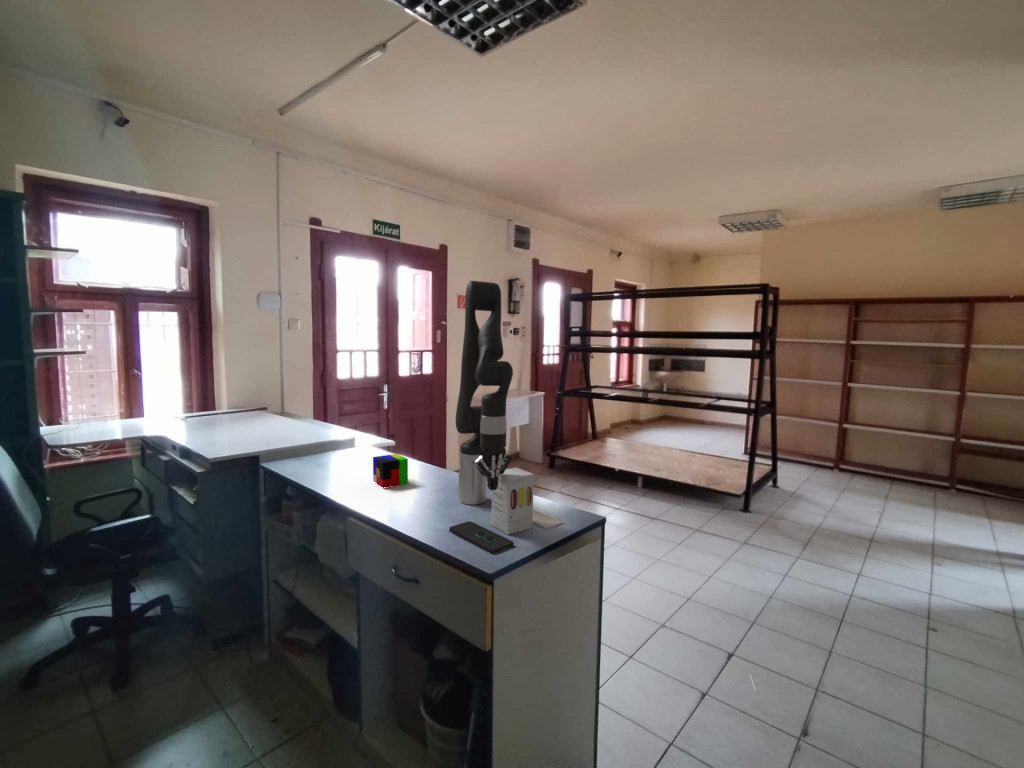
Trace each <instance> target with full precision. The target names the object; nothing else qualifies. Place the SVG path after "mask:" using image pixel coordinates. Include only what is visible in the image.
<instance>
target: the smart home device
mask: <svg viewBox="0 0 1024 768" xmlns="http://www.w3.org/2000/svg"><path fill="white" fill-rule="evenodd" d="M448 529H449V533H451V532H452V533H451V534H453V535H454V536H456V535H457V537H458V536H459V538H460V537H461V539H462V538H463V539H462V540H463V541H466V542H468V543H470V544H471V543H472V544H471V545H473V546H475V547H477V548H479V549H481V550H482V551H485V552H486V553H488V552H489V553H488V554H490V553H491V555H494V554H497V553H500V552H503V551H505V550H507V549H509V548H510V549H511V548H513V547H514V541H513V540H510V539H509V538H506V537H505V536H502V535H501V534H499V533H497V532H495V531H492V530H490V529H488V528H486V527H484V526H482V525H480V524H477V523H475V522H474V521H469V520H468V521H464V522H461V523H459V524H455V525H452V526H449V528H448Z"/></svg>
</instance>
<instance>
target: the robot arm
mask: <svg viewBox="0 0 1024 768" xmlns="http://www.w3.org/2000/svg"><path fill="white" fill-rule="evenodd" d="M464 304H465V305H464V306H465V308H464V309H465V310H464V311H465V312H464V313H465V314H464V333H463V334H464V335H463V343H462V344H463V345H462V352H461V353H462V354H461V365H460V366H461V367H460V368H461V369H460V384H459V392H458V393H459V394H458V398H457V404H456V412H455V428H456V430H457V432H458V433H459V434H461V435H462V434H463V435H466V434H468V435H469V434H473V435H472V437H470V438H469V439H468V440H466V441H463V442H462V443H461V444H460V446H459V452H460V453H459V455H460V456H459V458H460V459H459V461H460V462H459V472H458V499H459V501H460V503H462V504H465V505H481V504H484V503H486V501H487V488H488V490H490V491H492V490H497V487H498V477H499V475H500V474H503V473H504V472H505V470H506V469H508V466H509V465H510V463H511V461H512V459H513V456H512V455H510V454H508V453H507V450H506V447H507V427H508V426H507V425H508V424H507V399H508V398H507V397H508V395H509V394H508V392H509V389H510V387H511V382H512V380H513V376H514V370H513V366H512V364H511V362H509V361H505V360H504V361H503V360H501V359H502V358H503V356H504V346H503V339H502V290H501V286H500V285H499V284H497V283H495V282H490V281H479V280H469V282H467V284H466V288H465V303H464ZM476 311H479V312H480V311H481V312H482V311H483V312H490V315H489V316H488V318H487V320H485V322H484V324H483V325H482V326H481V328H480V326H479V324H478V321H477V316H476ZM479 386H484V387H492V386H493V387H495V386H496V387H498V389H496V391H495V392H492V393H486V394H484V395H482V396H481V397H482V398H481V405H475V406H473V405H472V400H473V398H474V396H475V393H476V391H477V390H478V388H479Z"/></svg>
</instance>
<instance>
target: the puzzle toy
mask: <svg viewBox="0 0 1024 768" xmlns="http://www.w3.org/2000/svg"><path fill="white" fill-rule="evenodd" d="M408 461H409V458H407V457H405V456H403V455H402V454H399V453H394V454H393V453H392V454H385V455H379V456H373V457H372V477H373V478H372V482H373V481H374V482H376V483H377V484H378V485H377V484H376V483H375V484H376V485H377V486H379V485H380V486H381V487H383V488H382V489H385V488H384V487H389V488H391V487H390V486H394V487H399V485H400V486H404V485H408V483H409V475H408V474H409V472H408V470H409V469H408V468H409V467H408V466H409V462H408ZM374 482H373V483H374ZM380 486H379V487H380ZM381 487H380V488H381Z"/></svg>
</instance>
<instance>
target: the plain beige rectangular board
mask: <svg viewBox="0 0 1024 768" xmlns="http://www.w3.org/2000/svg"><path fill="white" fill-rule="evenodd" d="M532 524H534V525H536V526H538V525H539V527H541V528H543V529H545V530H549V529H552V528H554V527H557V526H561V525H563V524H564V521H563V520H559V519H557V518H555V517H553V516H550V515H548V514H545V513H543V512H541V511H539V510H536V509H534V508H533V521H532Z"/></svg>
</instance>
